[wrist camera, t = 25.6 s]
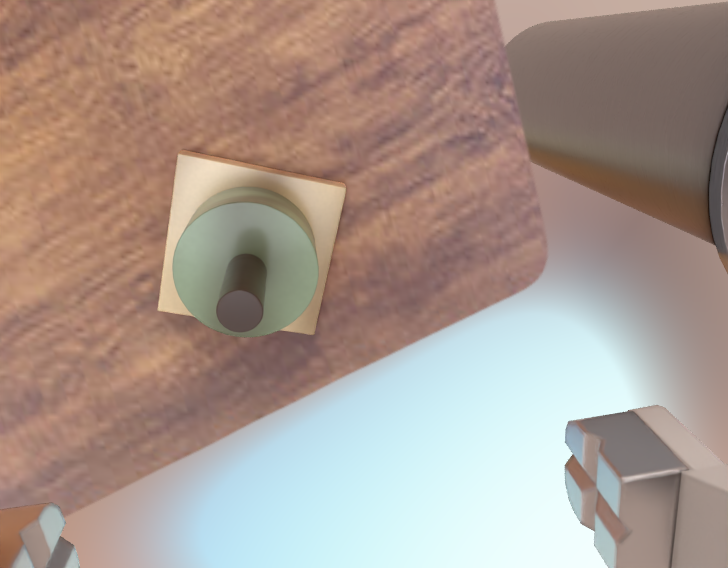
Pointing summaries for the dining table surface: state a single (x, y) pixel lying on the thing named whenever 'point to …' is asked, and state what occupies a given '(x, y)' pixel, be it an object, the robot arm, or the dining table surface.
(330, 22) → the dining table surface
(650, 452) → the robot arm
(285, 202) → the ring stand
